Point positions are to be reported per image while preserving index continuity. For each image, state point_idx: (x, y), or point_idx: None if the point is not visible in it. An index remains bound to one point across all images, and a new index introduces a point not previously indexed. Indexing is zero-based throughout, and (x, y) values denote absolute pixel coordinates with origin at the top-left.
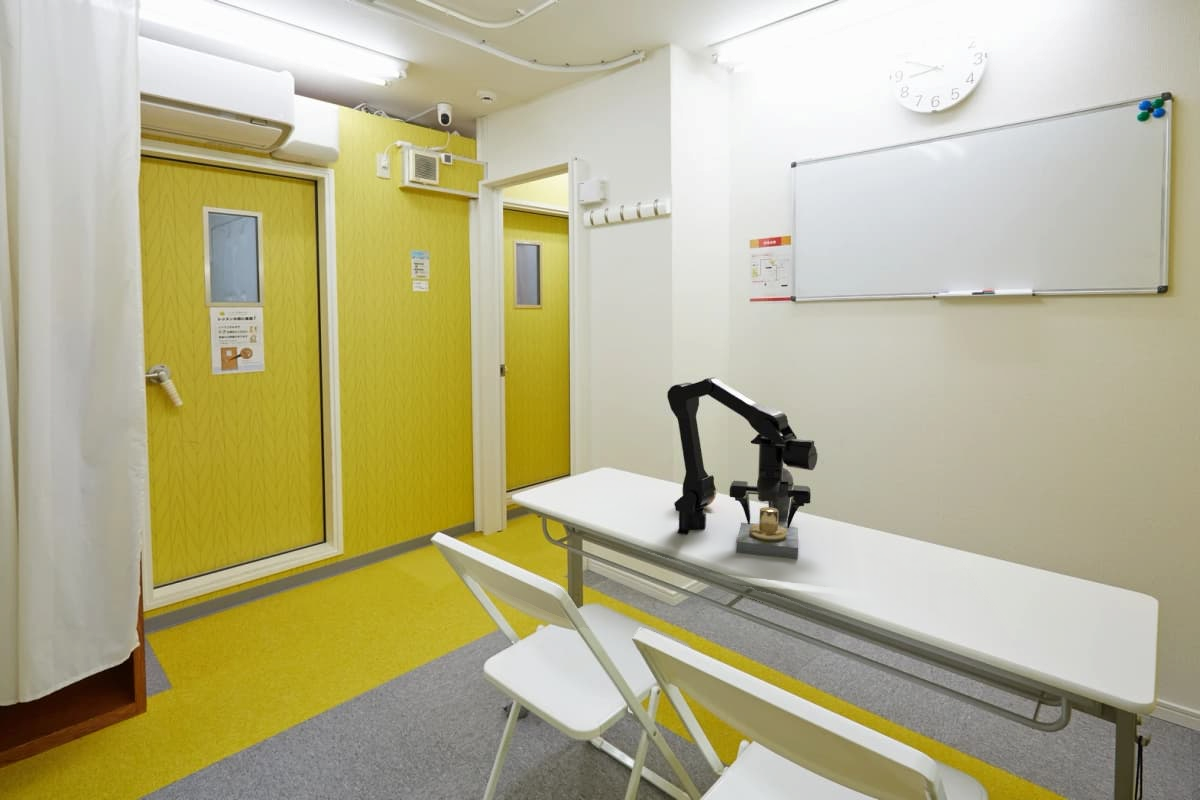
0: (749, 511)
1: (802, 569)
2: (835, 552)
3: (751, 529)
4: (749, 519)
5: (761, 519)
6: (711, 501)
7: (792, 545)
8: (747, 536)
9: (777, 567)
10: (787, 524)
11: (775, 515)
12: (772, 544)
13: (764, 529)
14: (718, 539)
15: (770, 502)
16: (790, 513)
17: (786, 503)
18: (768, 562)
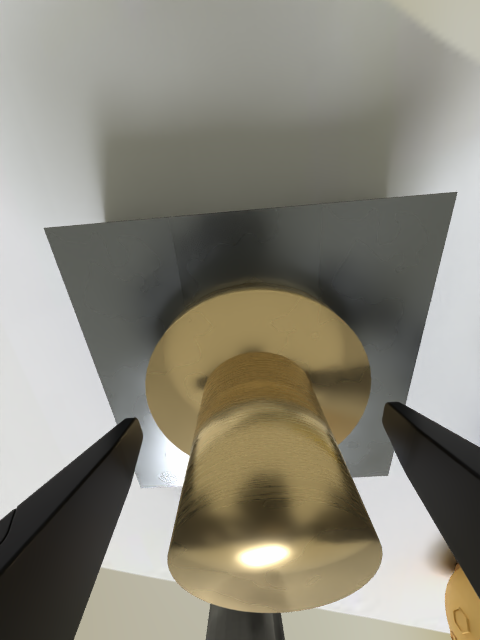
0: (464, 514)
1: (65, 169)
2: (22, 396)
3: (359, 373)
4: (417, 426)
5: (325, 429)
6: (457, 598)
7: (90, 260)
8: (370, 315)
9: (180, 146)
10: (122, 434)
11: (193, 487)
12: (210, 229)
13: (280, 364)
14: (442, 378)
15: (275, 631)
16: (11, 544)
17: (214, 636)
18: (231, 200)
